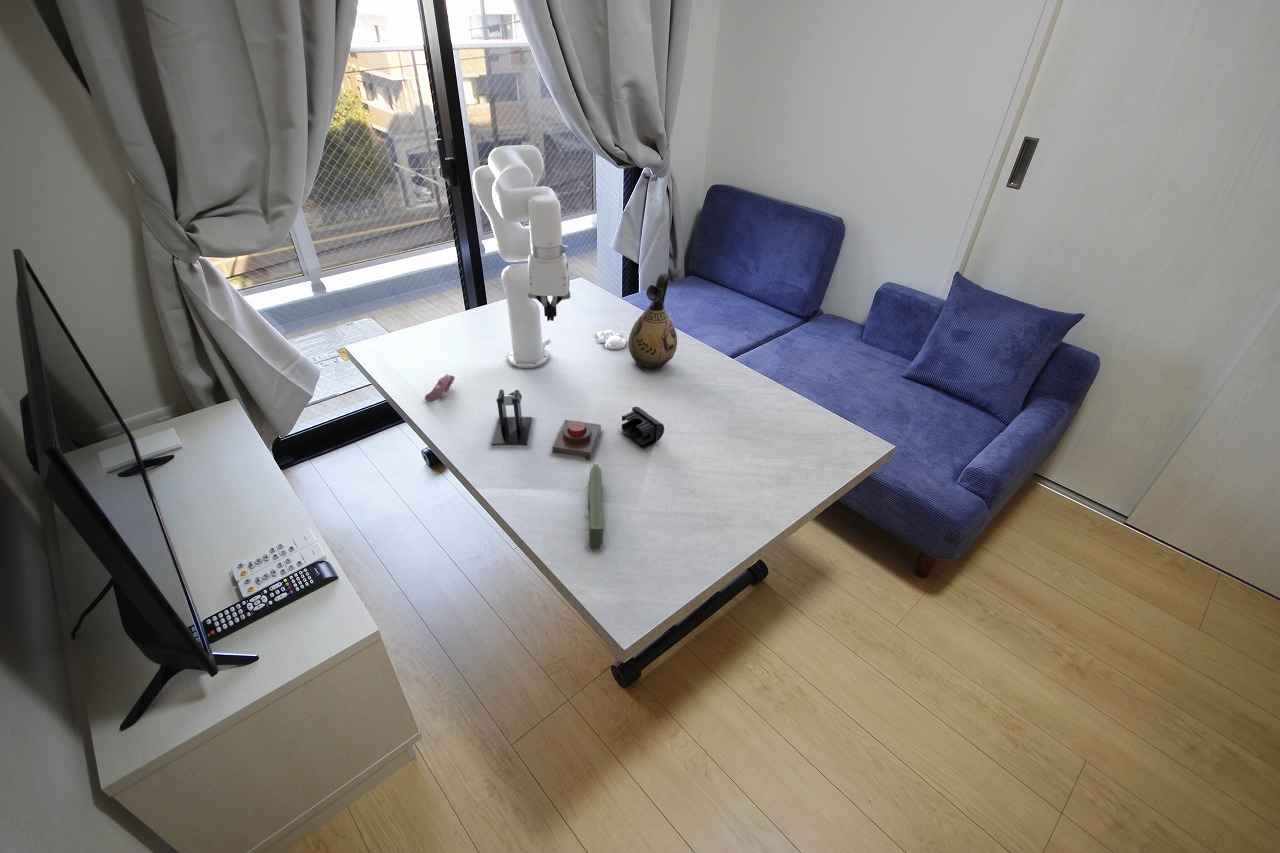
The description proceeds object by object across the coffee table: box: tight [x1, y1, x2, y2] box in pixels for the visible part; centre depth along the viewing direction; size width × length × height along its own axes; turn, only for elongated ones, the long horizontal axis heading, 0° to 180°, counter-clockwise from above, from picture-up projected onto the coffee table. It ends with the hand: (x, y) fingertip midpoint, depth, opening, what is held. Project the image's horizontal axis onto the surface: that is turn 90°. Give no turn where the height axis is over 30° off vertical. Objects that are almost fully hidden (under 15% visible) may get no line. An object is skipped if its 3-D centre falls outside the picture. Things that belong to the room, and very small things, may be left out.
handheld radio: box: [587, 463, 605, 550], centre depth 131 cm, size 7×3×25 cm
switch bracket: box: [491, 389, 533, 446], centre depth 149 cm, size 12×9×13 cm
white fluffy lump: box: [596, 329, 627, 350], centre depth 194 cm, size 9×12×3 cm
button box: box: [551, 419, 602, 461], centre depth 150 cm, size 12×10×4 cm
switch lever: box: [504, 390, 523, 406], centre depth 152 cm, size 13×4×4 cm, turn 2°
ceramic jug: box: [627, 272, 678, 373], centre depth 176 cm, size 17×15×30 cm
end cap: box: [621, 406, 665, 450], centre depth 153 cm, size 10×7×7 cm
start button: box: [568, 420, 585, 436], centre depth 148 cm, size 4×4×2 cm
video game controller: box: [424, 373, 456, 403], centre depth 164 cm, size 10×5×7 cm, turn 168°
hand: (550, 318), depth 149 cm, fingers closed
